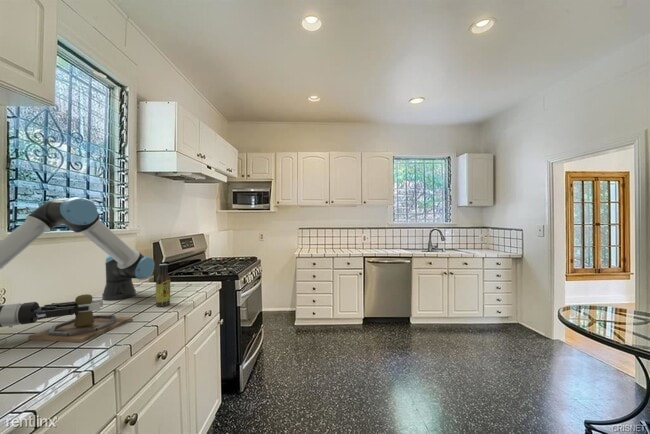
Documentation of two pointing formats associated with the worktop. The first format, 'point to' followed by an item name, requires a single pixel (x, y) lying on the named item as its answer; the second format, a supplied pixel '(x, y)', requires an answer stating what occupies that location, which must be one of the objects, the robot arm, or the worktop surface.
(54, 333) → the steel ring
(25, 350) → the worktop surface
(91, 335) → the walnut board
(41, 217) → the robot arm
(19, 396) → the worktop surface
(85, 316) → the cork
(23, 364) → the worktop surface
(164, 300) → the sauce bottle
